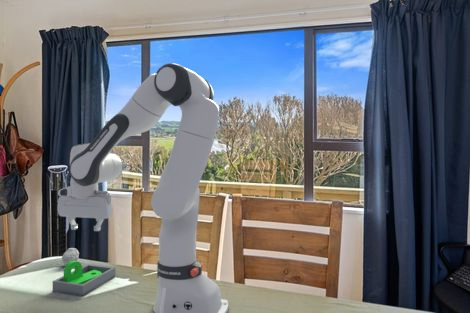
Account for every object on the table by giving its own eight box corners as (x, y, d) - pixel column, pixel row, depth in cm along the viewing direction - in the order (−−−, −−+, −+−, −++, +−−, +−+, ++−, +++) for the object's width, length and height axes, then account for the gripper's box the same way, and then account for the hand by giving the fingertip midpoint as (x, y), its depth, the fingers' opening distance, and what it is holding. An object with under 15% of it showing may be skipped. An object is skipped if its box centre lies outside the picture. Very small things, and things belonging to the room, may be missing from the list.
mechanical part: (74, 290, 113) (74, 266, 112) (63, 286, 116) (63, 263, 115) (105, 278, 123) (105, 256, 123) (94, 275, 126) (94, 253, 126)
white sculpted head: (82, 263, 140) (82, 246, 140) (71, 269, 134) (71, 251, 133) (69, 262, 141) (69, 245, 141) (57, 268, 135) (57, 250, 134)
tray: (115, 276, 126) (115, 267, 126) (83, 296, 110) (82, 285, 110) (88, 273, 130) (87, 264, 130) (52, 291, 114) (52, 281, 113)
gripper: (116, 189, 119) (117, 229, 119) (67, 188, 125) (68, 226, 125) (104, 192, 113) (105, 234, 113) (53, 190, 118) (55, 230, 119)
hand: (85, 230), depth 119 cm, fingers open, 8 cm apart
